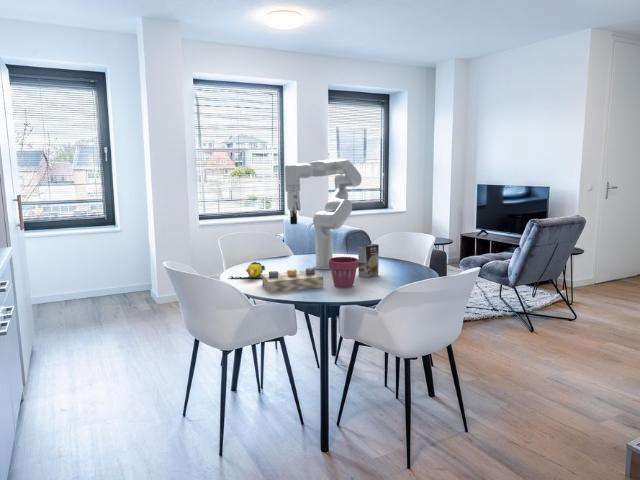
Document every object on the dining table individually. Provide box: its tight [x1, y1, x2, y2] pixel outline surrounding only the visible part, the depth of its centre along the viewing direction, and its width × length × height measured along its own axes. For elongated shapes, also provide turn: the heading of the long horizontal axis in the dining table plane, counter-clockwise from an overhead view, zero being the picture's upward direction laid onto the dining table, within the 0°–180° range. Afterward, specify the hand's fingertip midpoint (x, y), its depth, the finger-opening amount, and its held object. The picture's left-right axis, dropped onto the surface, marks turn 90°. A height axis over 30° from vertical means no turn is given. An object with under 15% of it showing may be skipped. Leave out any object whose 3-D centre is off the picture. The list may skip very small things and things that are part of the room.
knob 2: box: [305, 267, 316, 275], centre depth 231 cm, size 4×4×6 cm
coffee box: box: [357, 243, 380, 279], centre depth 246 cm, size 9×6×16 cm
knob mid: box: [287, 269, 298, 277], centre depth 229 cm, size 4×4×6 cm
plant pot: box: [329, 256, 359, 289], centre depth 226 cm, size 14×14×13 cm
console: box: [261, 270, 324, 293], centre depth 229 cm, size 26×16×5 cm, turn 107°
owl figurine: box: [227, 261, 266, 280], centre depth 248 cm, size 28×9×15 cm
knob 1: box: [268, 270, 279, 278], centre depth 226 cm, size 4×4×6 cm
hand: (293, 224), depth 248 cm, fingers closed
